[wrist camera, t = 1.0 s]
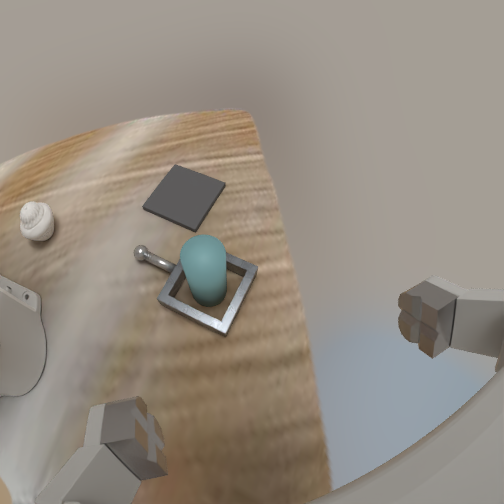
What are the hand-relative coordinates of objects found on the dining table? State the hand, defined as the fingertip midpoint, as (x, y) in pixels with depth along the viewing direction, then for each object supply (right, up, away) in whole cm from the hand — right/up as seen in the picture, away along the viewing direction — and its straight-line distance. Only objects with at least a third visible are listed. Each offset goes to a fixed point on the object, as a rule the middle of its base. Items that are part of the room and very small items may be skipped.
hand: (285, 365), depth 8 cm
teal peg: (-6, -2, +30) cm, 30 cm away
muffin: (-33, +6, +32) cm, 47 cm away
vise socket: (-9, 0, +30) cm, 31 cm away
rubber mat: (-11, +11, +36) cm, 39 cm away
